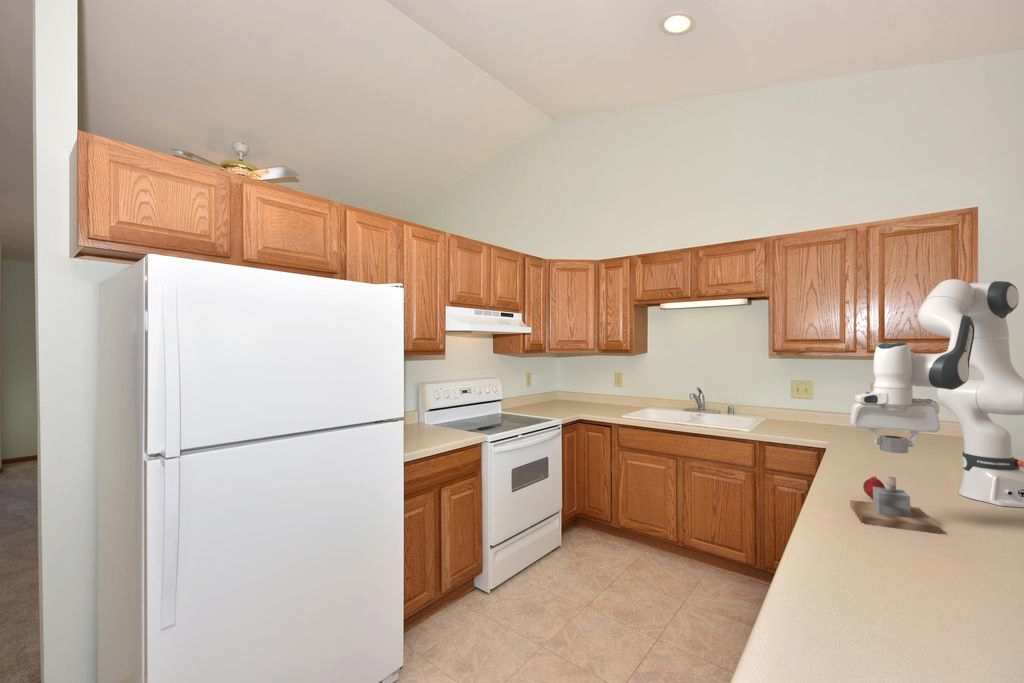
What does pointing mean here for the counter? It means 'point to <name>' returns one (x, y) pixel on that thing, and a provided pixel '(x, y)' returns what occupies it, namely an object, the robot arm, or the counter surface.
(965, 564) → the counter surface
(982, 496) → the robot arm
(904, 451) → the collar
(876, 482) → the red rounded piece
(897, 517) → the post stand
